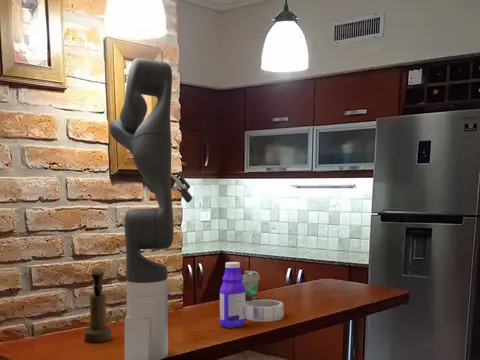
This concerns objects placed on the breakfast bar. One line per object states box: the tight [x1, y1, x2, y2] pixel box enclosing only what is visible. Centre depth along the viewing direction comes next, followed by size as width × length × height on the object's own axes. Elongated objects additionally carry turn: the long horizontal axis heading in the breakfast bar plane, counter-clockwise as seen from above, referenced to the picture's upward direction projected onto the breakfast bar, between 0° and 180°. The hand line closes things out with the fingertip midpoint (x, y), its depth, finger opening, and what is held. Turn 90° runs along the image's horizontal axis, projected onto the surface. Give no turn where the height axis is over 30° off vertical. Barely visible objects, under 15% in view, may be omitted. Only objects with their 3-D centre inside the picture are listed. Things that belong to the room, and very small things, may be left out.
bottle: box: [219, 261, 246, 329], centre depth 141 cm, size 7×6×17 cm
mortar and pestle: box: [84, 267, 113, 344], centre depth 129 cm, size 7×6×18 cm
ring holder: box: [245, 299, 285, 323], centre depth 150 cm, size 11×11×4 cm
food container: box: [241, 270, 261, 303], centre depth 170 cm, size 12×6×10 cm, turn 168°
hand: (179, 200), depth 146 cm, fingers open, 8 cm apart
